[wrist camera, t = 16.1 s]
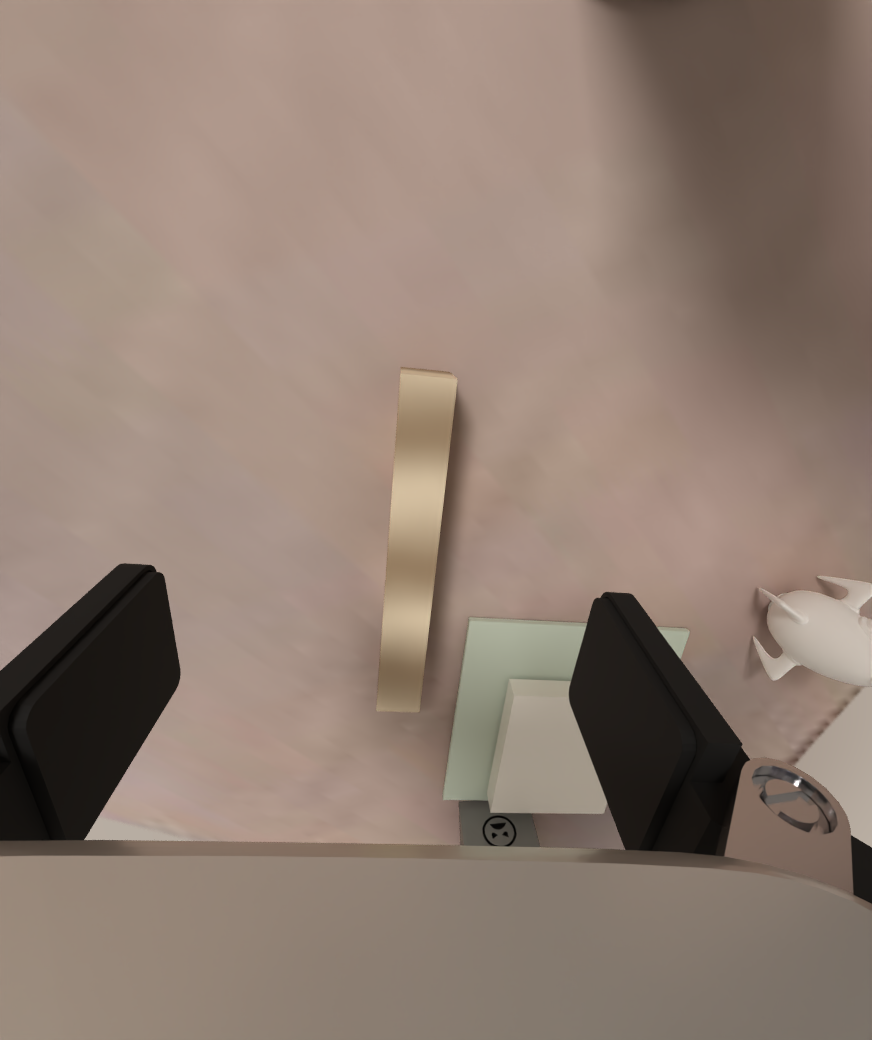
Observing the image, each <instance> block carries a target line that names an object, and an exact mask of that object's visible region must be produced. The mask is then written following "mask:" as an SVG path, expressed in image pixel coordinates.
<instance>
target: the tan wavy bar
mask: <svg viewBox="0 0 872 1040" xmlns="http://www.w3.org/2000/svg"><path fill="white" fill-rule="evenodd" d="M457 380H458V379H457V378H456V377H455V376H453V375H452V374H451V373H450V372H444V371H434V370H425V369H415V368H405V367H401V372H400V386H399V400H398V413H397V427H396V441H395V455H394V469H393V483H392V497H391V510H390V524H389V538H388V552H387V566H386V580H385V594H384V607H383V621H382V635H381V649H380V663H379V677H378V692H377V707H376V711H385V712H418V713H419V711H420V703H421V694H422V685H423V677H424V668H425V659H426V650H427V642H428V633H429V624H430V616H431V607H432V598H433V590H434V581H435V572H436V563H437V555H438V546H439V537H440V529H441V520H442V511H443V502H444V494H445V485H446V476H447V468H448V459H449V450H450V441H451V433H452V424H453V415H454V407H455V398H456V389H457Z"/></svg>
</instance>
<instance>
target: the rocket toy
mask: <svg viewBox="0 0 872 1040" xmlns="http://www.w3.org/2000/svg"><path fill="white" fill-rule="evenodd" d="M817 578H819V579H822V580H825V581H828V582H831V583H834V584H836V585H839V586H841V587H843V588H845V589H846V590H847V591H848V594H847V596H846V597H845V598H843V599H841V600H839V599H838V600H836V599H834V598H832V597H829V596H826V595H824V594H821V593H817V592H813V591H806V590H797V591H792V592H789V593H783V594H780V595H778V596H777V597H776V596H774V595H773V594H771V593H769V592H768V591H766V590H764V589H762V588H760V587H758V589H759V590H760V591H761V592H762V593H763V594H764V595H766V596H767V597H768V598H769V599H770V600H771V603H770V604H769V606H768V614H767V625H768V628H769V631H770V633H771V634H772V636H773V638H774V639H775V640H776V642H777V643H778V644H779V646H780V647H781V648H782V649H783V650H782V651H783V653H782V655H781V656H780V657H778V658H772V657H771V656H770V655H769V654H768V653H767V652H766V651H765V650H764V648H763V647H762V646H761V644H760V643H759V641H758V640H757V639H756V638H755V637H754V636H753V641H754V644H755V647H756V649H757V652H758V655H759V657H760V659H761V662H762V664H763V666H764V669H765V671H766V673H767V675H768V676H769V678H770V679H771V680H774V681H775V680H778V679H780V678H781V677H782V676H783V675H785V674H786V673H787V672H788V671H789V670H790V669H792V668H793V667H794V666H796V665H799V666H801V665H803V666H805V667H807V668H809V669H811V670H812V671H814V672H816V673H818V674H821V675H823V676H826V677H828V678H831V679H834V680H837V681H841V682H844V683H848V684H852V685H857V686H865V687H872V619H868V618H866V617H861V616H860V615H859V614H860V611H859V609H860V608H861V606H862V605H863V604H864V603H866V602H867V601H868V600H869V599H870V598H871V597H872V583H868V582H863V581H857V580H851V579H844V578H837V577H829V576H817Z"/></svg>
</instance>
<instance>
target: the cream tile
mask: <svg viewBox="0 0 872 1040" xmlns="http://www.w3.org/2000/svg"><path fill="white" fill-rule="evenodd" d="M570 683H571V681H555V680H529V679H509V682H508V687H507V692H506V697H505V702H504V707H503V712H502V718H501V723H500V728H499V733H498V738H497V743H496V748H495V754H494V759H493V764H492V769H491V774H490V779H489V784H488V789H487V796H488V802H489V807H490V813H561V814H604V811H605V808H606V805H607V800H606V798H605V795H604V792H603V790H602V787H601V784H600V782H599V779H598V777H597V774H596V771H595V769H594V766H593V763H592V761H591V758H590V756H589V753H588V750H587V748H586V745H585V742H584V740H583V737H582V735H581V732H580V729H579V727H578V724H577V721H576V719H575V716H574V714H573V711H572V708H571V706H570V702H569V686H570Z"/></svg>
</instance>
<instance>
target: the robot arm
mask: <svg viewBox="0 0 872 1040" xmlns="http://www.w3.org/2000/svg"><path fill="white" fill-rule="evenodd" d="M179 680H180V665H179V659H178V653H177V648H176V642H175V636H174V630H173V624H172V618H171V612H170V607H169V601H168V595H167V589H166V583H165V578H164V576H163V574H162V573H160V572H156V569H155V568H154V566H152V565H141V564H120V565H118V566H117V567H115V568H114V569H113V570H112V571H111V572H110V573H109V574H108V575H107V576H105V577H104V578H103V579H102V580H101V581H100V582H99V583H98V584H97V585H95V586H94V587H93V588H92V589H91V590H90V591H89V592H88V593H87V594H85V595H84V596H83V597H82V598H81V599H80V600H79V601H78V602H77V603H75V604H74V605H73V606H72V607H71V608H70V609H69V610H68V611H67V612H65V613H64V614H63V615H62V616H61V617H60V618H59V619H58V620H57V621H55V622H54V623H53V624H52V625H51V626H50V627H49V628H48V629H47V630H45V631H44V632H43V633H42V634H41V635H40V636H39V637H38V638H36V639H35V640H34V641H33V642H32V643H31V644H30V645H29V646H28V647H26V648H25V649H24V650H23V651H22V652H21V653H20V654H19V655H18V656H16V657H15V658H14V659H13V660H12V661H11V662H10V663H9V664H8V665H6V666H5V667H4V668H3V669H2V670H1V671H0V1040H872V848H871V847H870V846H868V845H866V844H865V843H863V842H861V841H860V840H858V839H857V838H855V837H853V836H851V831H850V825H849V822H848V818H847V816H846V814H845V812H844V810H843V808H842V807H841V805H840V804H839V802H838V801H837V800H836V799H835V798H834V797H833V796H832V794H831V793H830V792H829V791H828V790H827V789H826V788H825V787H824V786H822V785H821V784H820V783H819V782H817V781H816V780H815V779H814V778H812V777H811V776H809V775H808V774H806V773H804V772H803V771H801V770H799V769H798V768H796V767H794V766H792V765H789V764H787V763H784V762H782V761H779V760H774V759H770V758H753V759H751V760H750V759H749V758H748V756H747V755H746V753H745V752H744V751H743V749H742V748H741V746H742V743H741V741H740V740H739V739H738V737H737V736H736V735H735V733H734V732H733V730H732V729H731V728H730V726H729V725H728V724H727V722H726V721H725V720H724V718H723V717H722V715H721V714H720V713H719V711H718V710H717V709H716V707H715V706H714V705H713V703H712V702H711V700H710V699H709V698H708V696H707V695H706V694H705V692H704V691H703V690H702V688H701V687H700V685H699V684H698V683H697V681H696V680H695V679H694V677H693V676H692V675H691V673H690V672H689V670H688V669H687V668H686V666H685V665H684V664H683V662H682V661H681V660H680V658H679V657H678V655H677V654H676V653H675V651H674V650H673V649H672V647H671V646H670V645H669V643H668V642H667V640H666V639H665V638H664V636H663V635H662V634H661V632H660V631H659V630H658V628H657V627H656V625H655V624H654V623H653V621H652V620H651V619H650V617H649V616H648V615H647V613H646V612H645V610H644V609H643V608H642V606H641V605H640V604H639V602H638V601H637V600H636V598H635V597H634V596H633V595H632V594H629V593H614V592H605V593H603V595H602V596H601V598H596V599H595V600H594V601H593V604H592V608H591V611H590V615H589V618H588V622H587V626H586V629H585V633H584V636H583V640H582V643H581V647H580V650H579V654H578V658H577V661H576V665H575V668H574V672H573V675H572V679H571V683H570V686H569V702H570V706H571V708H572V711H573V714H574V716H575V719H576V721H577V724H578V727H579V729H580V732H581V735H582V737H583V740H584V742H585V745H586V748H587V750H588V753H589V756H590V758H591V761H592V763H593V766H594V769H595V771H596V774H597V777H598V779H599V782H600V784H601V787H602V790H603V792H604V795H605V798H606V800H607V803H608V805H609V808H610V811H611V813H612V816H613V819H614V821H615V824H616V827H617V829H618V832H619V834H620V837H621V840H622V842H623V845H624V847H625V850H614V849H590V848H548V847H505V846H461V845H410V844H355V843H293V842H219V841H131V840H129V841H128V840H126V841H125V840H124V841H123V840H84V839H85V838H86V836H87V834H88V833H89V831H90V829H91V828H92V826H93V824H94V823H95V821H96V819H97V818H98V816H99V815H100V813H101V811H102V810H103V808H104V806H105V805H106V803H107V802H108V800H109V798H110V797H111V795H112V793H113V792H114V790H115V788H116V787H117V785H118V784H119V782H120V780H121V779H122V777H123V775H124V774H125V772H126V770H127V769H128V767H129V766H130V764H131V762H132V761H133V759H134V757H135V756H136V754H137V752H138V751H139V749H140V748H141V746H142V744H143V743H144V741H145V739H146V738H147V736H148V735H149V733H150V731H151V730H152V728H153V726H154V725H155V723H156V721H157V720H158V718H159V717H160V715H161V713H162V712H163V710H164V708H165V707H166V705H167V703H168V702H169V700H170V699H171V697H172V695H173V694H174V692H175V690H176V688H177V687H178V684H179Z"/></svg>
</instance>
